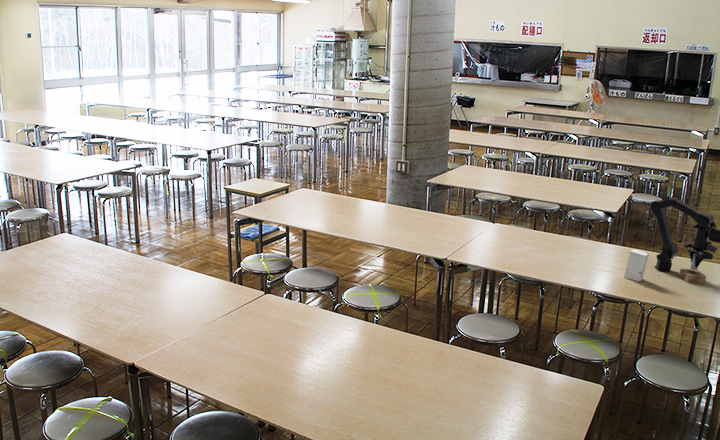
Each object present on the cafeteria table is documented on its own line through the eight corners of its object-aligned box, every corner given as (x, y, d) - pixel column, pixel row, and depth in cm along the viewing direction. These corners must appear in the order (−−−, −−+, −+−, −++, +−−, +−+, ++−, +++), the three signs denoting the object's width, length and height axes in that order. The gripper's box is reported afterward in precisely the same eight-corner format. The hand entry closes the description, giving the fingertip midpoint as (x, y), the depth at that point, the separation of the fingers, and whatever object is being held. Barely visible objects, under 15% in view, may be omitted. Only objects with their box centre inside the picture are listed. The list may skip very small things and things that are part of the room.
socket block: (687, 282, 309) (688, 275, 308) (678, 275, 318) (680, 268, 317) (704, 283, 309) (706, 276, 308) (695, 276, 318) (697, 269, 316)
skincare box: (623, 277, 311) (629, 251, 306) (627, 274, 315) (632, 248, 311) (640, 282, 306) (646, 255, 301) (643, 279, 310) (649, 252, 306)
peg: (692, 269, 310) (695, 255, 308) (689, 267, 313) (692, 253, 311) (698, 270, 310) (702, 255, 308) (695, 267, 313) (698, 253, 311)
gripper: (727, 245, 297) (719, 273, 302) (707, 233, 315) (701, 260, 320) (704, 243, 298) (697, 272, 302) (686, 231, 316) (680, 259, 320)
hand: (694, 265), depth 311 cm, fingers closed on peg, 3 cm apart
